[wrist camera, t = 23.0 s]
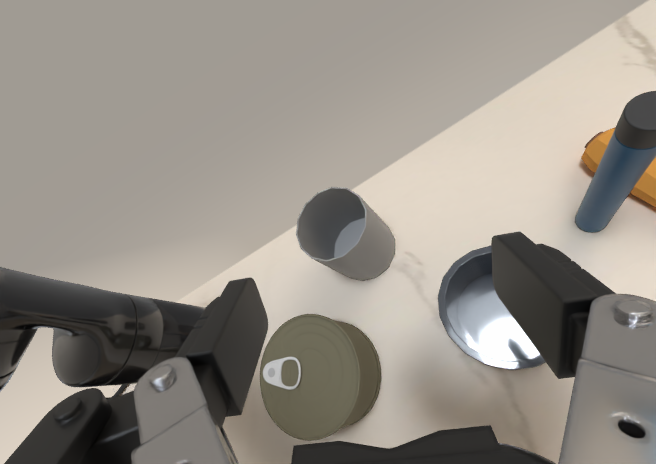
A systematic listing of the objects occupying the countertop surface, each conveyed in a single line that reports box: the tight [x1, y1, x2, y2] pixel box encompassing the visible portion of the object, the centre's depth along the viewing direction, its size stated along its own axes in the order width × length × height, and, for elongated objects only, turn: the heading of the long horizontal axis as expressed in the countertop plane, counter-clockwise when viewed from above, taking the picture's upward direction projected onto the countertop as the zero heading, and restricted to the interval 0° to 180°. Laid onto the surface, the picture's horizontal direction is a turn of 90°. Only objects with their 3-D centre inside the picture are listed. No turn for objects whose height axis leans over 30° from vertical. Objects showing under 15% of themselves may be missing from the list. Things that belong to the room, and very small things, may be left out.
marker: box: [575, 91, 656, 232], centre depth 26 cm, size 3×3×18 cm
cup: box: [296, 187, 395, 281], centre depth 39 cm, size 8×8×10 cm
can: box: [260, 314, 381, 441], centre depth 37 cm, size 12×12×7 cm
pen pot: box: [438, 246, 546, 370], centre depth 30 cm, size 10×10×8 cm
